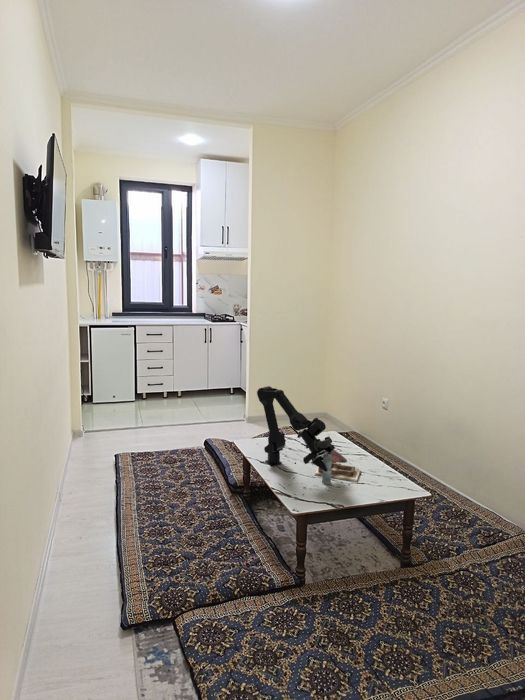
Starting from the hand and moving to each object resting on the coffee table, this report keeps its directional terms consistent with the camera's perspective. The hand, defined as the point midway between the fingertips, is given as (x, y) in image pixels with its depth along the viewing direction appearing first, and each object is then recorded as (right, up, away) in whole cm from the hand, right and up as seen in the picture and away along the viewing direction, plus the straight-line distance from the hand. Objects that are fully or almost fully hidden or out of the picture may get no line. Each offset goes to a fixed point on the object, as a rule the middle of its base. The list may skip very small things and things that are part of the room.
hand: (329, 469), depth 218 cm
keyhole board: (+6, -5, +13) cm, 15 cm away
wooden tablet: (+5, -1, +38) cm, 39 cm away
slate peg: (-1, -6, +2) cm, 7 cm away
